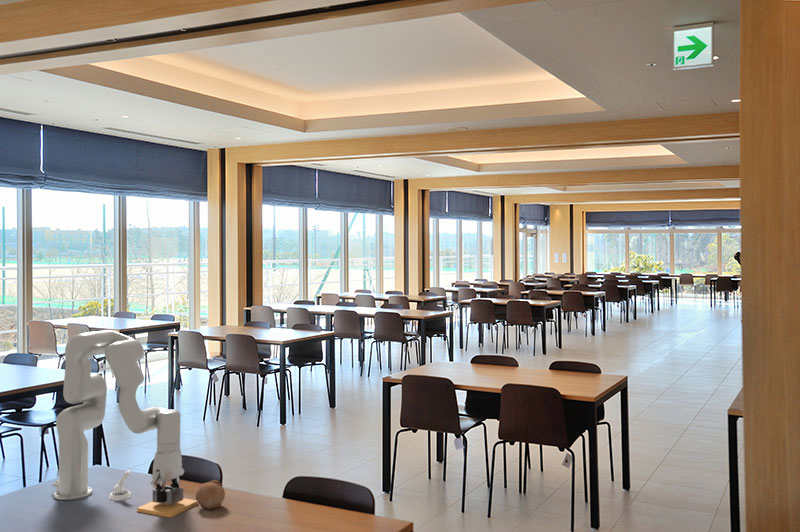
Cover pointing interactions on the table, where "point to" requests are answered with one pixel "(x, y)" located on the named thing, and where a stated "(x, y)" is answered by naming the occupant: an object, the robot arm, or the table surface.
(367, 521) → the table surface
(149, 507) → the wooden peg base
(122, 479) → the hook
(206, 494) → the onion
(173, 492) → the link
